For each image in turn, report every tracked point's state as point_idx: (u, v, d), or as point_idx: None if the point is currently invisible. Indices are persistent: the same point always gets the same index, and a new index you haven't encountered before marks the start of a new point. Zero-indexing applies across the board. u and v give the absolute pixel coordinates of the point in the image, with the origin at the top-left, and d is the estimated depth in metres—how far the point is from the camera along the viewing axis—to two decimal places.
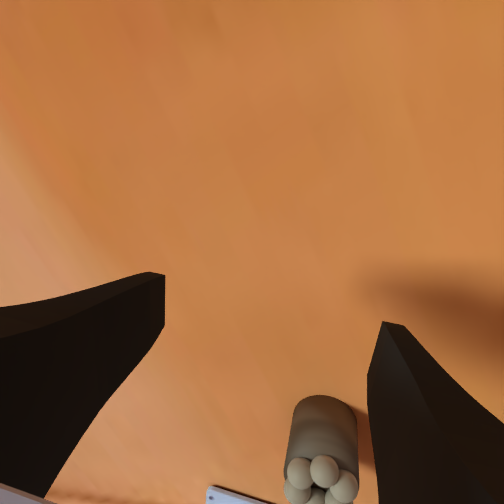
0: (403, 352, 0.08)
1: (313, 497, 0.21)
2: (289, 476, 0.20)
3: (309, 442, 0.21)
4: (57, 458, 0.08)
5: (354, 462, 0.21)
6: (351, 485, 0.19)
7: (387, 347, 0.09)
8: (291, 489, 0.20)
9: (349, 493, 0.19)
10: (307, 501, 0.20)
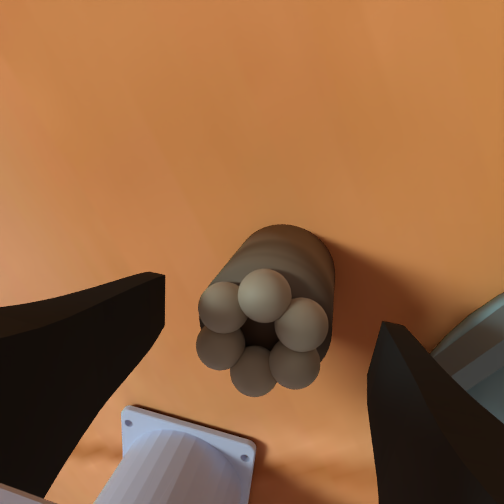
0: (403, 352, 0.08)
1: (248, 353, 0.11)
2: (199, 308, 0.11)
3: (243, 259, 0.12)
4: (57, 458, 0.08)
5: None
6: (314, 314, 0.10)
7: (387, 348, 0.09)
8: (206, 337, 0.11)
9: (309, 326, 0.10)
10: (236, 361, 0.11)
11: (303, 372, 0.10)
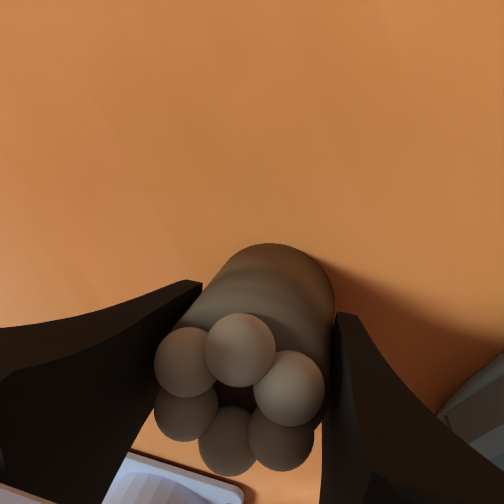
0: (346, 339, 0.09)
1: (221, 421, 0.09)
2: (154, 365, 0.08)
3: (215, 295, 0.09)
4: (107, 475, 0.08)
5: (319, 340, 0.09)
6: (305, 378, 0.07)
7: (335, 336, 0.10)
8: (164, 401, 0.08)
9: (298, 397, 0.07)
10: (205, 431, 0.08)
11: (291, 453, 0.08)
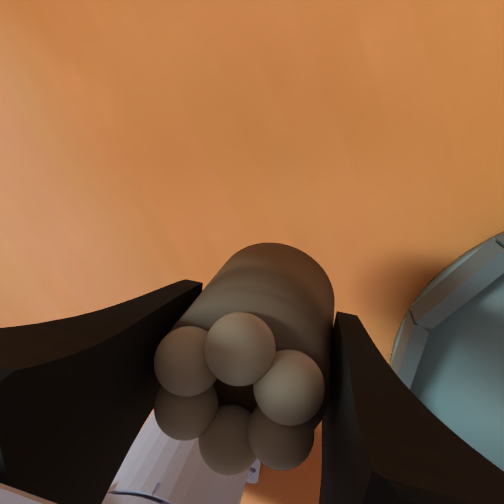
0: (346, 339, 0.09)
1: (221, 420, 0.09)
2: (154, 364, 0.08)
3: (215, 295, 0.09)
4: (107, 475, 0.08)
5: (319, 339, 0.09)
6: (305, 377, 0.07)
7: (336, 336, 0.10)
8: (164, 400, 0.08)
9: (298, 396, 0.07)
10: (205, 430, 0.08)
11: (291, 452, 0.08)
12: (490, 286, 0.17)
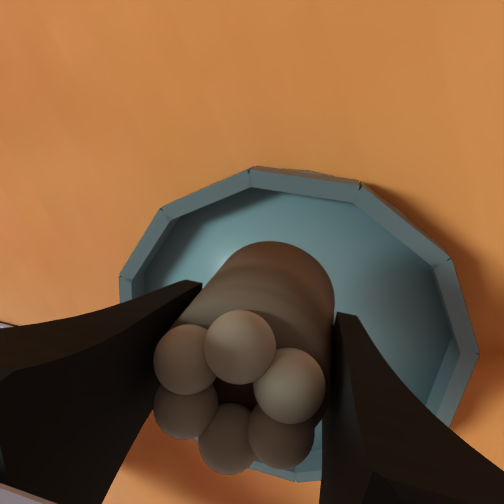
0: (346, 339, 0.09)
1: (221, 418, 0.09)
2: (154, 362, 0.08)
3: (215, 292, 0.09)
4: (107, 475, 0.08)
5: (319, 337, 0.09)
6: (305, 375, 0.07)
7: (335, 336, 0.10)
8: (164, 398, 0.08)
9: (299, 394, 0.07)
10: (204, 429, 0.08)
11: (291, 450, 0.08)
12: (183, 244, 0.20)
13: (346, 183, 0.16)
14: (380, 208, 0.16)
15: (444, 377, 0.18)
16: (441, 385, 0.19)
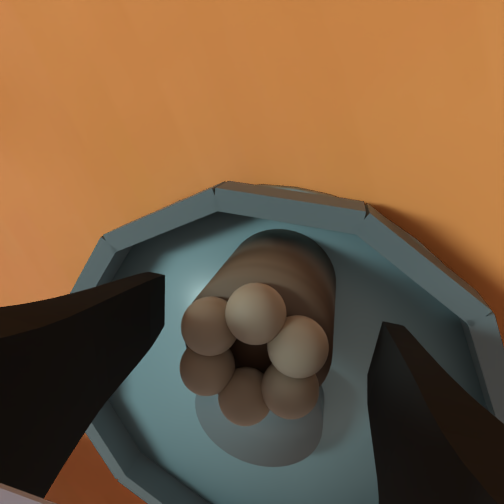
0: (403, 352, 0.08)
1: (238, 378, 0.10)
2: (182, 327, 0.09)
3: (232, 270, 0.10)
4: (57, 458, 0.08)
5: (323, 308, 0.10)
6: (312, 336, 0.09)
7: (387, 347, 0.09)
8: (189, 359, 0.10)
9: (306, 351, 0.08)
10: (224, 386, 0.10)
11: (300, 401, 0.09)
12: None
13: (347, 208, 0.11)
14: (394, 243, 0.11)
15: None
16: None
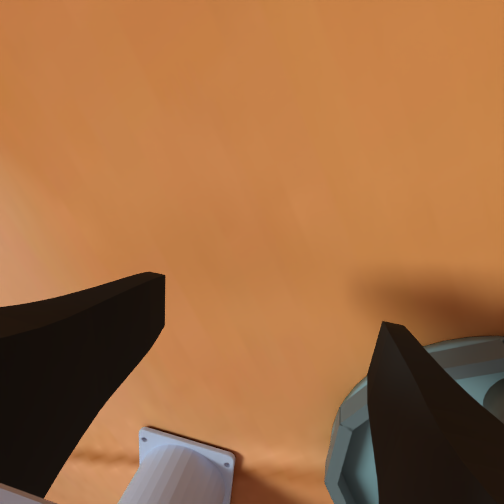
0: (403, 352, 0.08)
1: None
2: None
3: None
4: (57, 458, 0.08)
5: None
6: None
7: (387, 348, 0.09)
8: None
9: None
10: None
11: None
12: None
13: None
14: None
15: None
16: None
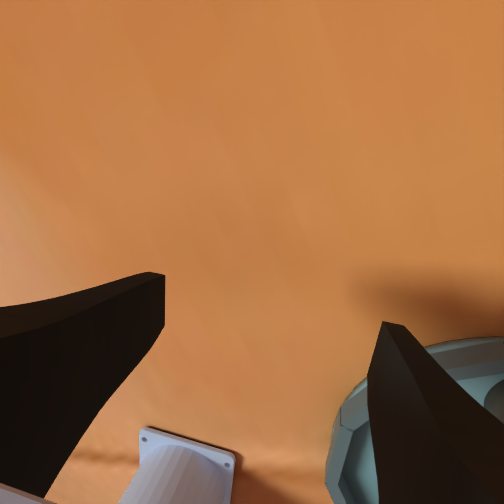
0: (403, 352, 0.08)
1: None
2: None
3: None
4: (57, 458, 0.08)
5: None
6: None
7: (387, 347, 0.09)
8: None
9: None
10: None
11: None
12: None
13: None
14: None
15: None
16: None
